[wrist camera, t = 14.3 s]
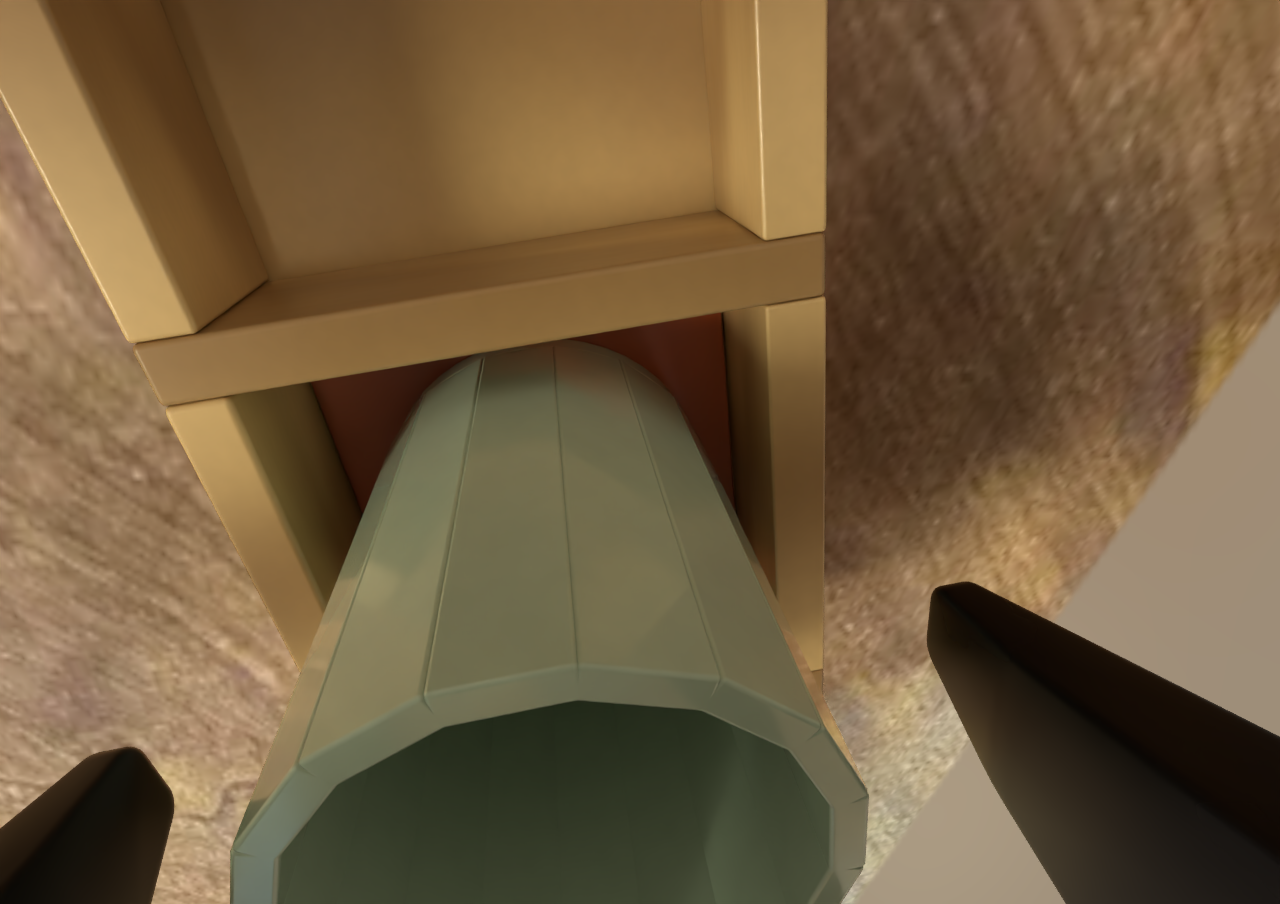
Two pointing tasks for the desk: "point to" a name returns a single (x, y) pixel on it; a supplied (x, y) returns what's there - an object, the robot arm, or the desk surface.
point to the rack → (443, 234)
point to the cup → (552, 673)
